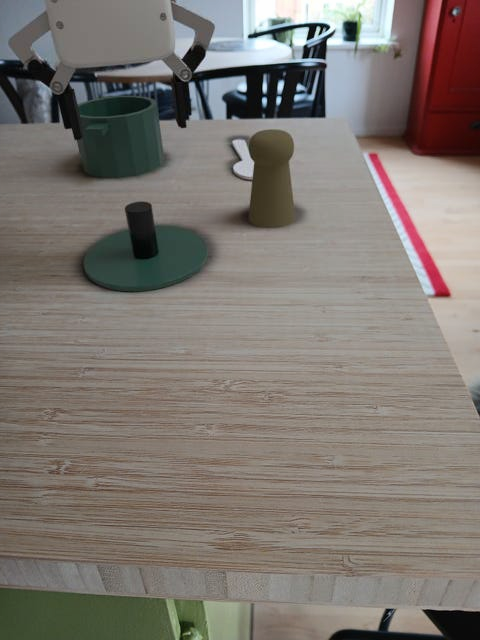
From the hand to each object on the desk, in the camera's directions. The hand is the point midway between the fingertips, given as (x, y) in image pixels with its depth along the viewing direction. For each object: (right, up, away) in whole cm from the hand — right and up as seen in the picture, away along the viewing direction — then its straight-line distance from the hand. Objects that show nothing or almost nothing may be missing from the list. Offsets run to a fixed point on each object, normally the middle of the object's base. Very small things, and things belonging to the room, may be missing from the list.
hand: (130, 130), depth 49 cm
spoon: (+11, +8, +34) cm, 37 cm away
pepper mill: (+14, -6, +16) cm, 22 cm away
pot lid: (0, -11, +8) cm, 14 cm away
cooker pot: (-8, +6, +33) cm, 35 cm away
